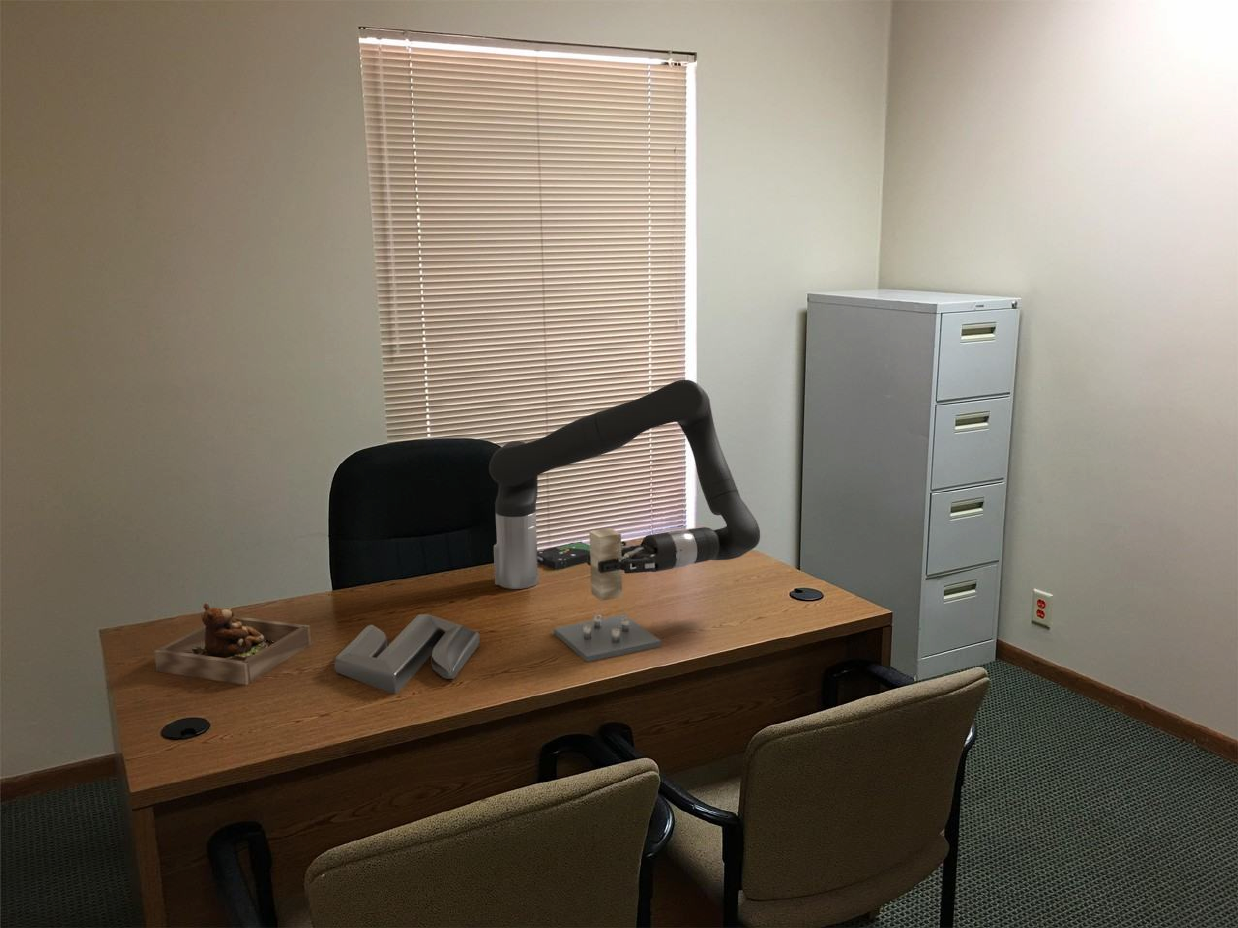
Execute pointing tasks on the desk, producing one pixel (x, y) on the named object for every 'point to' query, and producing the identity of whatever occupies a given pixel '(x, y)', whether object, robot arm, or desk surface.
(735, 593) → the desk surface
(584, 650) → the slate base plate
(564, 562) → the disk drive
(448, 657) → the emblem
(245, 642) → the bear figurine
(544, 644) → the desk surface
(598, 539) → the birch post
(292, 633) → the walnut display rim
